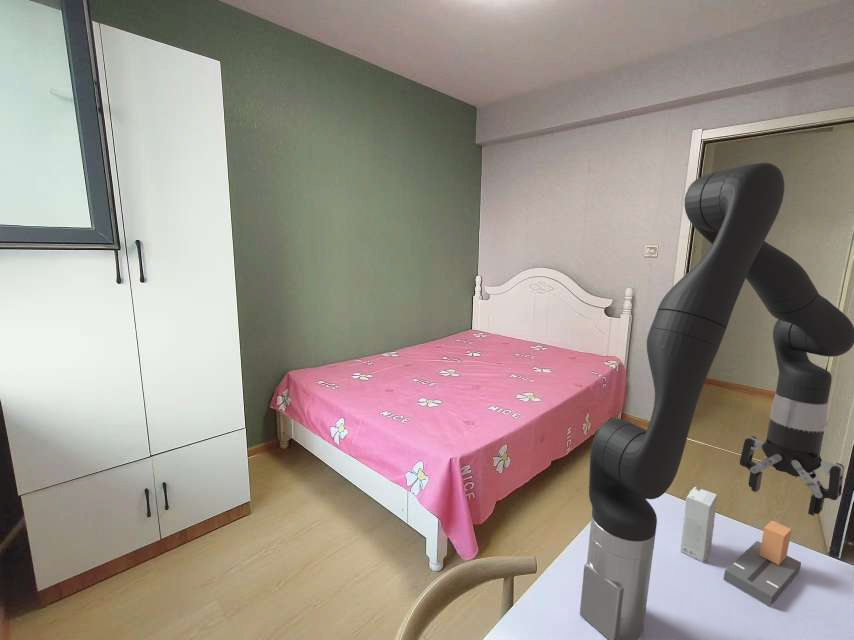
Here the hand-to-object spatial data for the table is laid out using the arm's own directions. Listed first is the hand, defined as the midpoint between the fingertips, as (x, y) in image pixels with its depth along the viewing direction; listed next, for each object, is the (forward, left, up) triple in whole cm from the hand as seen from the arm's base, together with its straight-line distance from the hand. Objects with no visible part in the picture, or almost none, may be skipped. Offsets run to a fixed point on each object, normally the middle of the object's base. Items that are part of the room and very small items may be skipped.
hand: (782, 501), depth 77 cm
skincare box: (-8, +10, -14) cm, 19 cm away
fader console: (-5, 0, -14) cm, 15 cm away
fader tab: (0, 0, -12) cm, 12 cm away
